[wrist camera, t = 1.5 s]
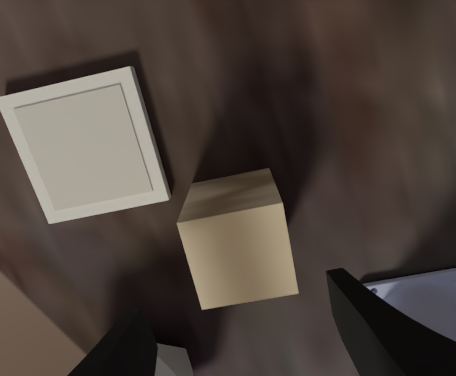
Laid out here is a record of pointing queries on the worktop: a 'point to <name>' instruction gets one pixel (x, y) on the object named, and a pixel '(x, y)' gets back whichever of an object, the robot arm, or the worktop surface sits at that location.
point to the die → (172, 361)
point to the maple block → (237, 240)
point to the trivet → (87, 145)
